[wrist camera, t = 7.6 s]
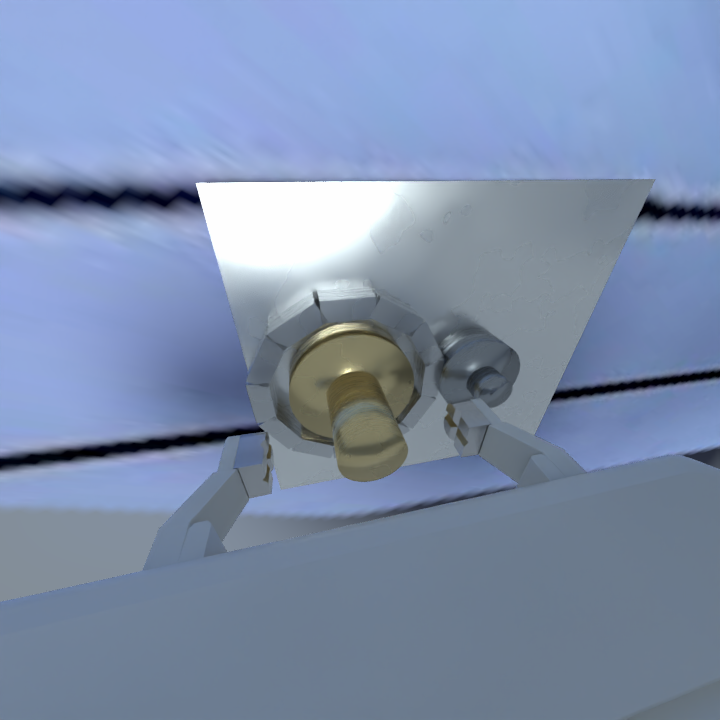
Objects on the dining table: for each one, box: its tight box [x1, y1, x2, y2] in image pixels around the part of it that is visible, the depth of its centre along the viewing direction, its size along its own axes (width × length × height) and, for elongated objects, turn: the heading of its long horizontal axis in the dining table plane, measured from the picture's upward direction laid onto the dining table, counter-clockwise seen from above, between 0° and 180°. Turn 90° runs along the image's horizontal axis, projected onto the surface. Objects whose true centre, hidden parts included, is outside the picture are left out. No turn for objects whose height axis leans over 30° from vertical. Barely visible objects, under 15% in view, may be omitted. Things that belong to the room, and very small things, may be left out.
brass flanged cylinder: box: [289, 323, 414, 482], centre depth 13 cm, size 6×6×6 cm
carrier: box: [196, 179, 655, 490], centre depth 15 cm, size 20×18×4 cm
